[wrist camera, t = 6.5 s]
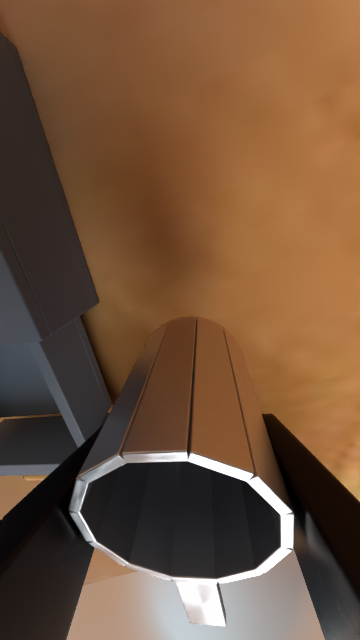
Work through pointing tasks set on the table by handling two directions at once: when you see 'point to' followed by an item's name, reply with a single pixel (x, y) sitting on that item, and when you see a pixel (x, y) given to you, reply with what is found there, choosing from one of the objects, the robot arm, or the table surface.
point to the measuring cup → (186, 471)
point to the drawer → (49, 401)
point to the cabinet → (34, 222)
